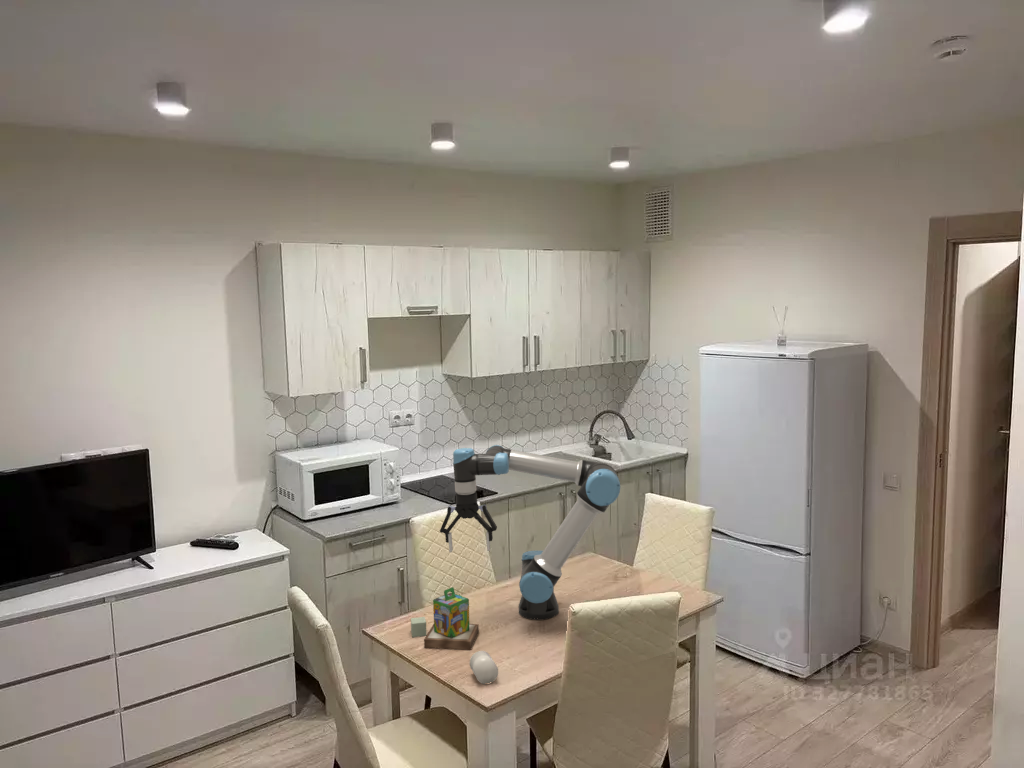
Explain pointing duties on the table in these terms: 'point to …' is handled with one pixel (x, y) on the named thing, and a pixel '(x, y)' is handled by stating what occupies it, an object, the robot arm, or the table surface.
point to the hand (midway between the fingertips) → (469, 550)
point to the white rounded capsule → (483, 667)
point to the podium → (452, 639)
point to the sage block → (418, 627)
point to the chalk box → (451, 614)
